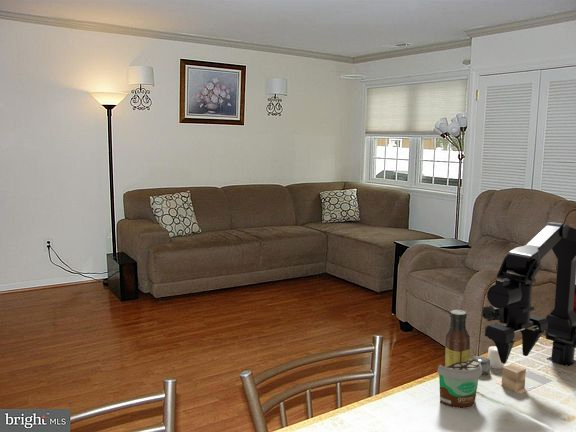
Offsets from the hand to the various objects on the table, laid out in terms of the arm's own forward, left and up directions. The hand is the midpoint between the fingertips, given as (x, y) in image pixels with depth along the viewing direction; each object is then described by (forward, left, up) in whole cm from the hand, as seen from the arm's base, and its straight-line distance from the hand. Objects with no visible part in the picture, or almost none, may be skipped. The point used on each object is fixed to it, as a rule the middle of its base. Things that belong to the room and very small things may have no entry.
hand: (514, 359), depth 136 cm
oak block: (0, 0, -8) cm, 8 cm away
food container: (+17, -2, -8) cm, 19 cm away
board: (-6, 0, -8) cm, 10 cm away
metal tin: (-1, -11, -8) cm, 13 cm away
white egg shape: (-8, -11, -8) cm, 15 cm away
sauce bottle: (+10, -10, -8) cm, 16 cm away
